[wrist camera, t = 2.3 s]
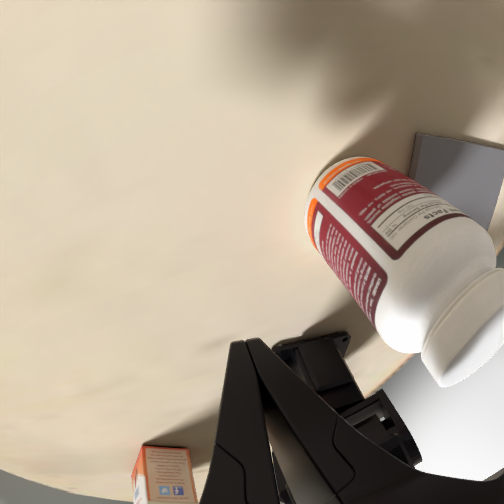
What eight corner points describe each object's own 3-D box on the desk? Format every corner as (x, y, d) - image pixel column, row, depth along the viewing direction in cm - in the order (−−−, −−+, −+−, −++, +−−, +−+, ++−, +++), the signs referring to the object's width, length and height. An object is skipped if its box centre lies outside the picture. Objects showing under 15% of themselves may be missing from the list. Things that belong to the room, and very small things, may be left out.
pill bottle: (361, 259, 20) (464, 392, 11) (281, 238, 17) (385, 415, 8) (408, 176, 17) (550, 285, 8) (332, 134, 14) (518, 255, 6)
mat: (472, 253, 23) (477, 257, 23) (384, 272, 21) (388, 277, 20) (504, 149, 18) (509, 152, 17) (416, 132, 15) (422, 135, 15)
